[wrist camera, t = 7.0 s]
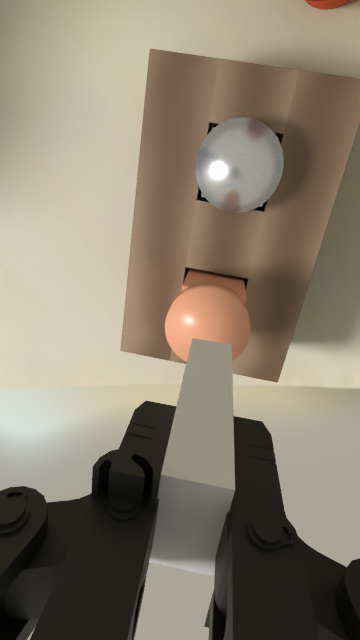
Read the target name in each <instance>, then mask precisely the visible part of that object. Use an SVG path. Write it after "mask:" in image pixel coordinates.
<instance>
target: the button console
mask: <svg viewBox="0 0 360 640" xmlns="http://www.w3.org/2000/svg"><path fill="white" fill-rule="evenodd" d="M240 117H245V118H252V119H256V120H258V121H260V122H262V123H264V124H265V125H267V126H268V127H269V128H270V129H271V130H272V131H273V132H274V133H275V135H276V136H277V138H278V140H279V142H280V144H281V147H282V151H283V158H284V165H283V172H282V176H281V180H280V182H279V184H278V186H277V188H276V190H275V191H274V193H273V194H272V195H271V197H270V198H269V199H268V200H267V201H266V202H264V203H263V205H262V207H257V208H255V209H253V210H250V211H246V212H241V213H233V212H227V211H223V210H221V209H219V208H217V207H215V206H214V205H212V204H211V203H210V202H209V201H208V200H207V199H206V198H205V197H201V194H202V192H201V190H200V188H199V185H198V182H197V178H196V159H197V154H198V151H199V148H200V146H201V144H202V142H203V141H204V139H205V138H206V136H207V135H208V134H209V133H210V132H211V131H212V128H215V127H216V126H218V125H219V124H221V123H223V122H225V121H227V120H230V119H233V118H240ZM359 123H360V79H356V78H349V77H342V76H335V75H328V74H321V73H315V72H308V71H301V70H294V69H287V68H280V67H273V66H266V65H259V64H253V63H246V62H239V61H232V60H225V59H218V58H211V57H204V56H197V55H190V54H184V53H177V52H170V51H163V50H156V49H150V52H149V62H148V73H147V83H146V93H145V104H144V114H143V124H142V135H141V145H140V155H139V166H138V176H137V186H136V196H135V207H134V217H133V227H132V238H131V248H130V258H129V269H128V279H127V289H126V300H125V310H124V320H123V330H122V341H121V351H125V352H130V353H135V354H140V355H144V356H149V357H154V358H159V359H164V360H169V361H174V362H179V363H184V364H186V363H187V362H186V361H184V360H182V359H181V358H180V357H179V356H177V355H176V354H175V352H174V351H173V350H172V348H171V347H170V345H169V343H168V341H167V338H166V334H165V321H166V316H167V314H168V311H169V309H170V307H171V305H172V303H173V301H174V300H175V298H176V297H177V296H178V295H179V294H180V293H181V290H182V285H183V283H184V280H185V278H186V276H187V274H188V272H189V269H190V268H193V269H199V270H204V271H210V272H215V273H220V274H226V275H231V276H237V277H242V278H243V279H244V285H245V290H246V296H247V298H246V302H245V305H246V307H247V310H248V314H249V320H250V328H251V330H250V338H249V341H248V344H247V346H246V348H245V349H244V351H243V352H242V353H241V354H240V355H239V356H238V357H237V358H236V359H235V360H233V361H232V373H233V374H238V375H243V376H248V377H253V378H258V379H263V380H268V381H273V382H278V380H279V377H280V373H281V370H282V367H283V364H284V361H285V358H286V354H287V351H288V348H289V345H290V342H291V339H292V335H293V332H294V329H295V326H296V323H297V320H298V316H299V313H300V310H301V307H302V304H303V301H304V297H305V294H306V291H307V288H308V285H309V282H310V278H311V275H312V272H313V269H314V266H315V263H316V259H317V256H318V253H319V250H320V247H321V244H322V240H323V237H324V234H325V231H326V228H327V225H328V221H329V218H330V215H331V212H332V209H333V206H334V202H335V199H336V196H337V193H338V190H339V187H340V183H341V180H342V177H343V174H344V171H345V168H346V164H347V161H348V158H349V155H350V152H351V149H352V145H353V142H354V139H355V136H356V133H357V130H358V126H359Z"/></svg>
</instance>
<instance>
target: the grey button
mask: <svg viewBox="0 0 360 640" xmlns="http://www.w3.org/2000/svg"><path fill="white" fill-rule="evenodd" d="M283 165H284V158H283V151H282V147H281V144H280V142H279V140H278V138H277V136H276V135H275V133H274V132H273V131H272V130H271V129H270V128H269V127H268V126H267V125H265V124H264V123H262V122H260V121H258V120H256V119H252V118H245V117H240V118H233V119H230V120H227V121H225V122H223V123H221V124H219V125H218V126H216V127H215V128H212V131H211V132H210V133H209V134H208V135H207V136H206V138H205V139H204V141H203V142H202V144H201V146H200V148H199V151H198V154H197V159H196V178H197V182H198V185H199V188H200V190H201V192H202V194H201V197H205V198H206V199H207V200H208V201H209V202H210V203H211V204H212V205H214V206H215V207H217V208H219V209H221V210H223V211H227V212H233V213H241V212H246V211H250V210H253V209H255V208H257V207H262V205H263V203H264V202H266V201H267V200H268V199H269V198H270V197H271V195H272V194H273V193H274V191H275V190H276V188H277V186H278V184H279V182H280V180H281V176H282V172H283Z"/></svg>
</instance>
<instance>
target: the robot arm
mask: <svg viewBox="0 0 360 640" xmlns="http://www.w3.org/2000/svg"><path fill="white" fill-rule="evenodd" d="M273 450H274V449H273V443H272V437H271V434H270V433H269V431H268V430H267V428H266V427H265V425H264V424H263V422H261V421H255V420H251V419H245V418H240V417H235V416H233V381H232V345H230V344H224V343H218V342H213V341H207V340H201V339H195V338H192V342H191V346H190V350H189V355H188V359H187V363H186V368H185V372H184V376H183V381H182V385H181V389H180V394H179V398H178V402H177V407H176V406H171V405H166V404H160V403H155V402H150V401H145V402H144V403H143V404H141V405H140V406H139V407H138V408H137V409H135V411H134V414H133V416H132V419H131V421H130V424H129V426H128V428H127V430H126V433H125V436H124V438H123V440H122V443H121V445H120V447H119V449H118V450H113V451H110V452H108V453H107V454H105V455H103V456H102V457H100V458H99V459H98V461H97V462H96V463H95V465H94V466H93V477H92V493H91V494H89V495H87V496H85V497H82V498H80V499H75V500H70V501H59V502H49V503H46V501H45V498H44V496H43V495H42V494H41V493H39V492H38V491H37V490H36V489H32V488H28V487H24V486H21V487H10V488H7V489H5V490H2V491H0V640H27V638H28V637H29V635H30V634H31V632H32V631H33V629H34V628H35V630H34V632H33V634H32V636H31V639H30V640H134V637H135V632H136V627H137V622H138V617H139V612H140V607H141V603H142V598H143V593H144V587H145V579H146V574H147V569H148V564H149V562H152V563H157V564H160V565H165V566H170V567H174V568H179V569H183V570H187V571H192V572H196V573H201V574H205V575H209V576H213V572H214V568H215V587H214V592H213V596H212V599H211V602H210V606H209V610H208V614H207V618H206V622H205V627H209V640H360V559H356V560H353V561H351V563H350V564H349V565H348V567H345V566H343V565H341V564H340V563H338V562H336V561H334V560H332V559H330V558H328V557H326V556H324V555H322V554H321V553H319V552H317V551H316V550H314V549H313V548H311V547H309V546H308V545H307V544H306V543H304V541H302V540H301V539H300V538H299V537H298V535H297V533H296V530H295V528H294V527H293V526H292V524H291V523H290V522H289V521H288V519H287V518H286V515H285V511H284V506H283V500H282V494H281V489H280V483H279V478H278V472H277V466H276V464H275V462H276V460H275V454H274V452H273ZM35 626H36V627H35Z"/></svg>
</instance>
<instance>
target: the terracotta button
mask: <svg viewBox="0 0 360 640" xmlns="http://www.w3.org/2000/svg"><path fill="white" fill-rule="evenodd" d="M246 298H247V296H246V290H245V285H244V279H243V278H242V277H237V276H231V275H226V274H220V273H215V272H210V271H204V270H199V269H193V268H190V269H189V272H188V274H187V276H186V278H185V280H184V283H183V285H182V290H181V293H180V294H179V295H178V296H177V297H176V298H175V300H174V301H173V303H172V305H171V307H170V309H169V311H168V314H167V316H166V321H165V334H166V338H167V341H168V343H169V345H170V347H171V348H172V350H173V351H174V352H175V354H176V355H177V356H179V357H180V358H181V359H182V360H184V361H186V362H187V359H188V355H189V350H190V346H191V342H192V338H195V339H201V340H207V341H213V342H218V343H224V344H230V345H232V361H233V360H235V359H236V358H237V357H238V356H239V355H240V354H241V353H242V352H243V351H244V349H245V348H246V346H247V344H248V341H249V338H250V330H251V328H250V320H249V314H248V310H247V307H246V305H245V302H246Z"/></svg>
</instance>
